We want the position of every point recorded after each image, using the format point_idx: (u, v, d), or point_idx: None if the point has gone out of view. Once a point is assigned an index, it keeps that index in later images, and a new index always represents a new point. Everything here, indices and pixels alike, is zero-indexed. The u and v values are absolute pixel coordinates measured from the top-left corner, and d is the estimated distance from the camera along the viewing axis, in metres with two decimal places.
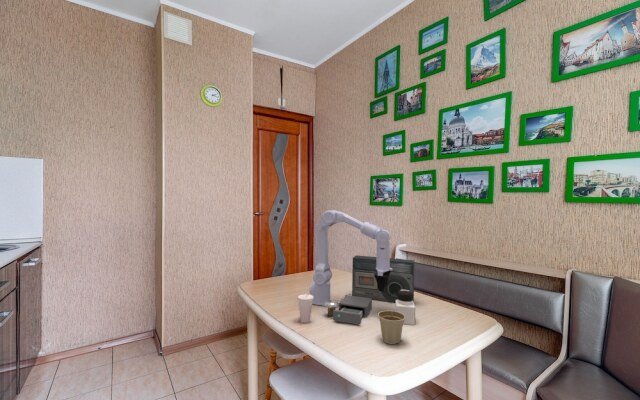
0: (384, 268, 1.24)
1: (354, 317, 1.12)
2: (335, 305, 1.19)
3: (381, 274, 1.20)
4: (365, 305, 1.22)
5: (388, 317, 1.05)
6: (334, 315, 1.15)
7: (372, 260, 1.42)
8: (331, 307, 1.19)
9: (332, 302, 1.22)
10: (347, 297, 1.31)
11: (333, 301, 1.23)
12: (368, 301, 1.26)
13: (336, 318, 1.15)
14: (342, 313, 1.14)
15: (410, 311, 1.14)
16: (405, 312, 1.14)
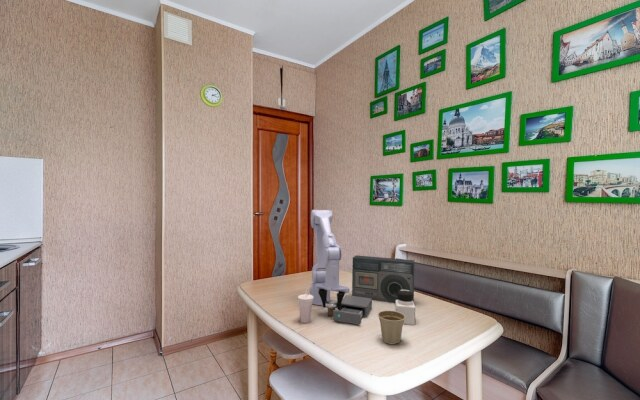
0: (325, 285, 1.22)
1: (354, 317, 1.12)
2: (335, 305, 1.19)
3: None
4: (365, 305, 1.22)
5: (388, 317, 1.05)
6: (334, 315, 1.15)
7: (372, 260, 1.42)
8: (331, 307, 1.19)
9: (332, 302, 1.22)
10: (347, 297, 1.31)
11: (333, 301, 1.23)
12: (368, 301, 1.26)
13: (336, 318, 1.15)
14: (342, 313, 1.14)
15: (410, 311, 1.14)
16: (405, 312, 1.14)
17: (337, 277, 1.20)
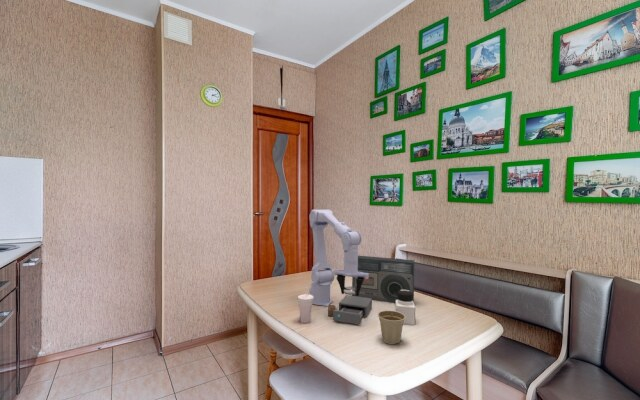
0: (343, 271, 1.18)
1: (354, 317, 1.12)
2: (354, 291, 1.16)
3: None
4: (365, 305, 1.22)
5: (387, 317, 1.05)
6: (334, 315, 1.15)
7: (372, 260, 1.42)
8: (350, 293, 1.16)
9: (350, 288, 1.19)
10: (347, 297, 1.31)
11: (351, 287, 1.19)
12: (368, 301, 1.26)
13: (336, 318, 1.15)
14: (342, 313, 1.14)
15: (410, 311, 1.14)
16: (405, 312, 1.14)
17: (356, 262, 1.17)
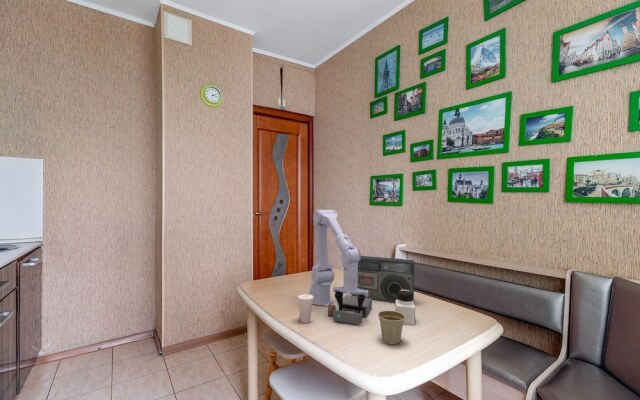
0: (343, 288, 1.18)
1: (354, 317, 1.12)
2: None
3: None
4: (365, 305, 1.22)
5: (387, 317, 1.05)
6: (334, 315, 1.15)
7: (372, 260, 1.42)
8: None
9: (350, 311, 1.19)
10: (347, 297, 1.31)
11: (351, 310, 1.19)
12: (368, 301, 1.26)
13: (336, 318, 1.15)
14: (342, 313, 1.14)
15: (410, 311, 1.14)
16: (405, 312, 1.14)
17: (356, 280, 1.17)
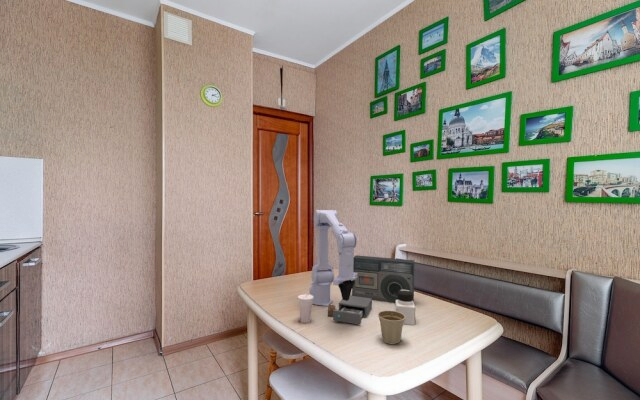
0: (344, 277, 1.09)
1: (354, 317, 1.12)
2: None
3: (336, 283, 1.05)
4: (365, 305, 1.22)
5: (388, 317, 1.05)
6: (334, 315, 1.15)
7: (372, 260, 1.42)
8: None
9: (350, 311, 1.19)
10: None
11: (351, 310, 1.19)
12: (368, 301, 1.26)
13: (336, 318, 1.15)
14: (342, 313, 1.14)
15: (410, 311, 1.14)
16: (405, 312, 1.14)
17: None
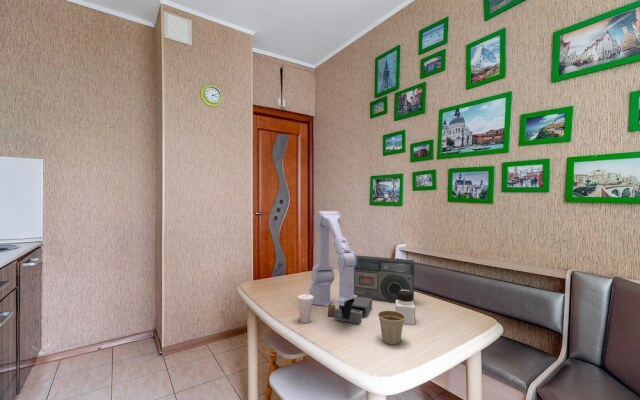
0: (347, 296, 1.10)
1: (355, 316, 1.13)
2: None
3: (342, 304, 1.06)
4: (365, 305, 1.22)
5: (387, 317, 1.05)
6: (335, 314, 1.16)
7: (372, 260, 1.42)
8: None
9: (351, 310, 1.20)
10: None
11: (352, 309, 1.20)
12: (368, 301, 1.26)
13: (337, 317, 1.16)
14: None
15: (410, 311, 1.14)
16: (405, 312, 1.14)
17: None
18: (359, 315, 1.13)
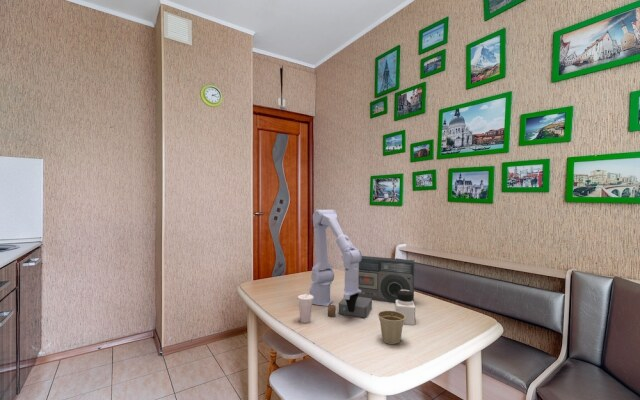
0: (352, 290, 1.17)
1: (359, 310, 1.20)
2: None
3: (348, 298, 1.13)
4: (365, 305, 1.22)
5: (387, 317, 1.05)
6: (340, 308, 1.23)
7: (372, 260, 1.42)
8: None
9: None
10: None
11: None
12: (368, 301, 1.26)
13: (342, 311, 1.22)
14: None
15: (410, 311, 1.14)
16: (405, 312, 1.14)
17: None
18: (363, 309, 1.19)
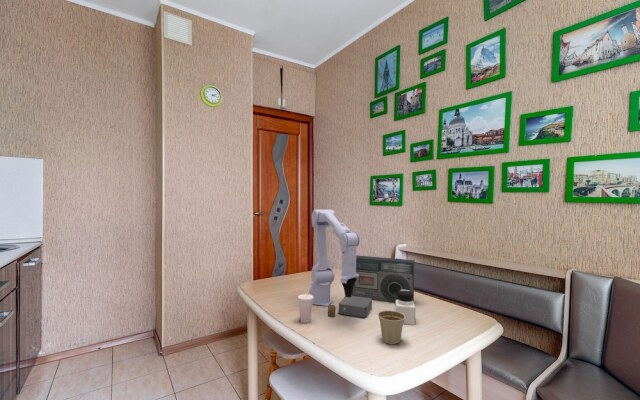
0: (349, 274, 1.13)
1: (359, 310, 1.20)
2: None
3: (345, 281, 1.09)
4: (365, 305, 1.22)
5: (387, 317, 1.05)
6: (340, 308, 1.23)
7: (372, 260, 1.42)
8: None
9: None
10: (347, 297, 1.31)
11: None
12: (368, 301, 1.26)
13: (342, 311, 1.22)
14: (348, 306, 1.21)
15: (410, 311, 1.14)
16: (405, 312, 1.14)
17: None
18: (363, 309, 1.19)
